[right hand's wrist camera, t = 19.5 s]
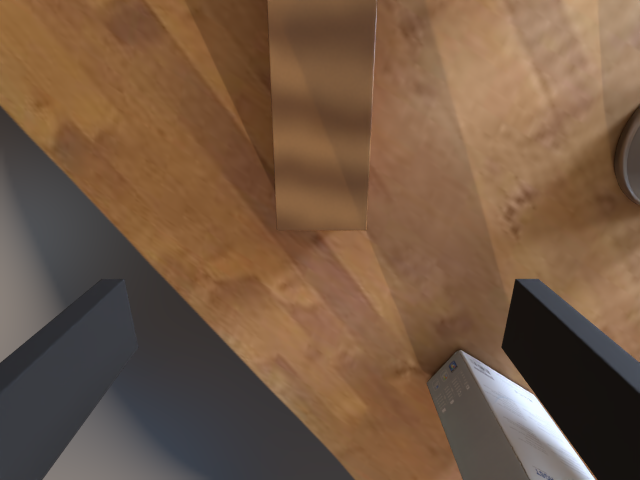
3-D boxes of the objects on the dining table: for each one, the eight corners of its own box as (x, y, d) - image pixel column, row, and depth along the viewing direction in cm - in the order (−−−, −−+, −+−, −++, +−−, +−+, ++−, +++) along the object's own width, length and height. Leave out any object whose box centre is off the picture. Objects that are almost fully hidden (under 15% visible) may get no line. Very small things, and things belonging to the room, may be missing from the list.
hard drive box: (423, 382, 55) (476, 526, 37) (458, 346, 53) (532, 480, 35) (501, 427, 59) (586, 580, 40) (537, 394, 56) (644, 541, 38)
